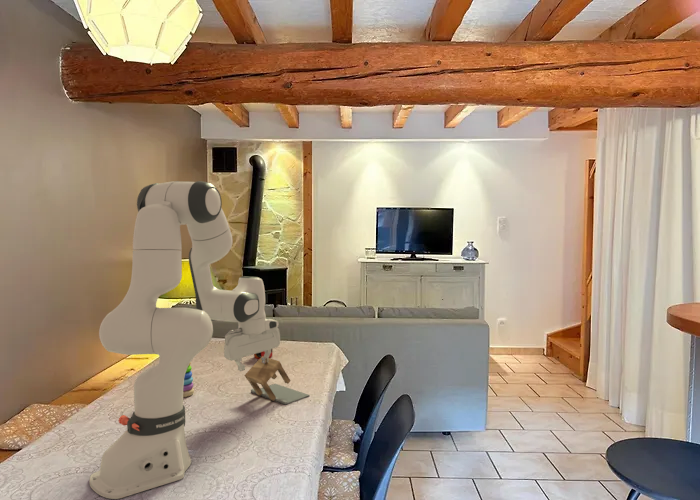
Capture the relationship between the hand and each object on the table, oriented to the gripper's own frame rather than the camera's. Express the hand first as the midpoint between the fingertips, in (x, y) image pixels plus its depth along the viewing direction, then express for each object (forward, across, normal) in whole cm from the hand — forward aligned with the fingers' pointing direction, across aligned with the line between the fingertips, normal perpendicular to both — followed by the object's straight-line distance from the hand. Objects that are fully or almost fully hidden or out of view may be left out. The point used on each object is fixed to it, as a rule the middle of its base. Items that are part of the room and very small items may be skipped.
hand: (253, 366), depth 164 cm
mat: (+13, +10, 0) cm, 16 cm away
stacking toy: (+12, -12, +24) cm, 30 cm away
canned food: (+15, +35, +41) cm, 56 cm away
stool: (+8, +2, 0) cm, 8 cm away
